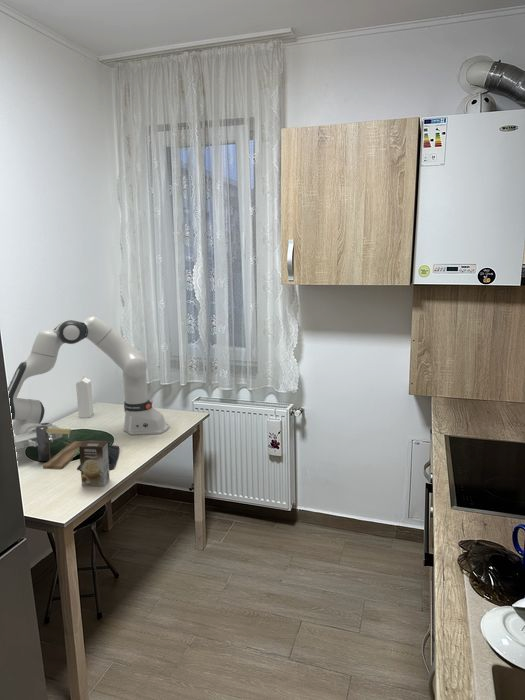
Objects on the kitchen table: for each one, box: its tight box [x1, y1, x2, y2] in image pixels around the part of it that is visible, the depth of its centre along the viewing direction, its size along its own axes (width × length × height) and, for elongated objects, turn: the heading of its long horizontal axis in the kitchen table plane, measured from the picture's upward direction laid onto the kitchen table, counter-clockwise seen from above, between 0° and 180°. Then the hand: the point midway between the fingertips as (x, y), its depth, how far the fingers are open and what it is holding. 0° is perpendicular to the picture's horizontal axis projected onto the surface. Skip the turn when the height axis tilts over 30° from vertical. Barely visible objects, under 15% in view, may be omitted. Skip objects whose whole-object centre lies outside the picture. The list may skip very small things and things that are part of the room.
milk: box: [75, 374, 94, 419], centre depth 263 cm, size 6×6×22 cm
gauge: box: [36, 426, 72, 462], centre depth 207 cm, size 15×5×14 cm, turn 84°
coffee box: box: [79, 439, 110, 487], centre depth 189 cm, size 9×6×16 cm
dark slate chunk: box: [76, 444, 120, 472], centre depth 210 cm, size 15×22×5 cm
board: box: [42, 440, 85, 470], centre depth 215 cm, size 8×26×1 cm, turn 174°
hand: (44, 442), depth 207 cm, fingers closed on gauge, 5 cm apart
